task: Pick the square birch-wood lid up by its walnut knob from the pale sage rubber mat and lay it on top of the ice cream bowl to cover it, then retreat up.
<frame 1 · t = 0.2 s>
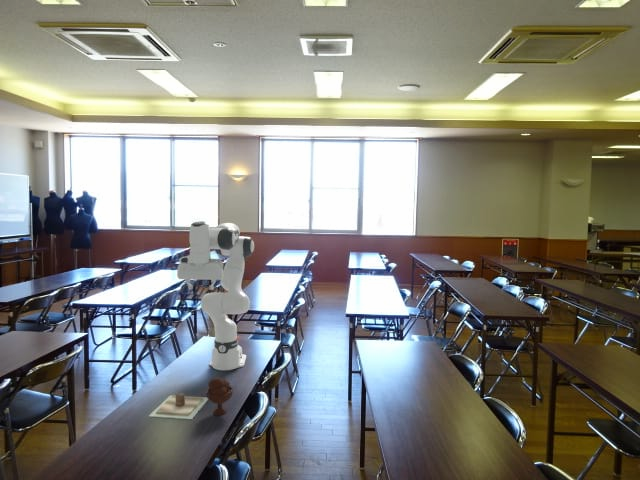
hand: (201, 289, 186), 47 cm above the table, fingers open, 8 cm apart
lid mat: (180, 407, 175), on the table
lid: (180, 406, 175), resting on lid mat
ice cream bowl: (220, 412, 171), on the table
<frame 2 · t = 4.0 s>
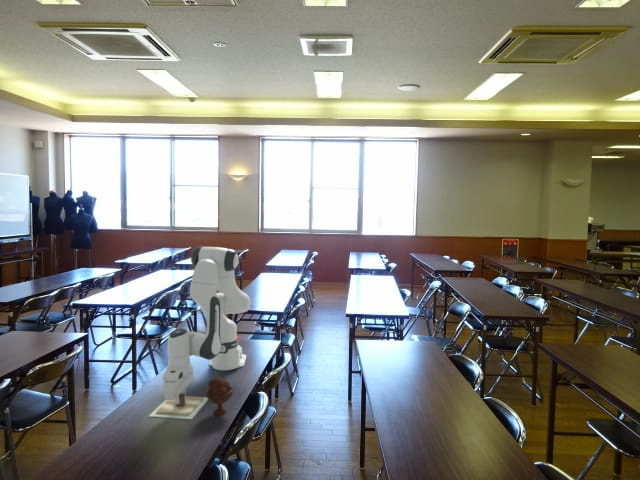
hand: (180, 400, 175), 3 cm above the table, fingers closed on lid, 4 cm apart
lid: (180, 406, 175), resting on lid mat, touching gripper
everything else where it was.
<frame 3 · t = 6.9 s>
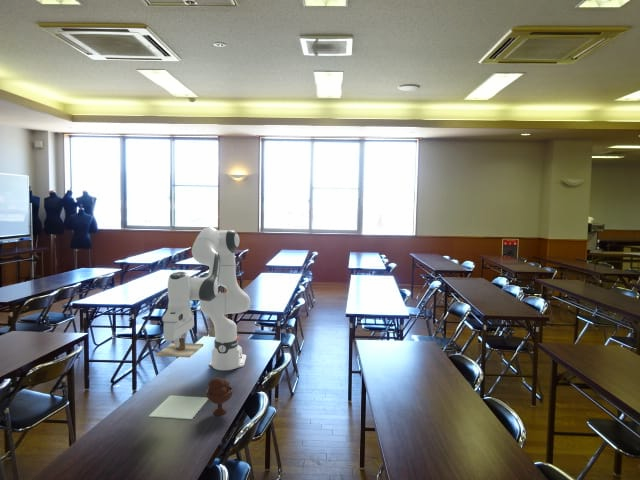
hand: (180, 344, 173), 27 cm above the table, fingers closed on lid, 4 cm apart
lid: (180, 350, 173), point 25 cm above the table, touching gripper
everything else where it was.
when the fingers open (19 cm above the table, at t = 9.7 s): lid drops 1 cm, resting on ice cream bowl.
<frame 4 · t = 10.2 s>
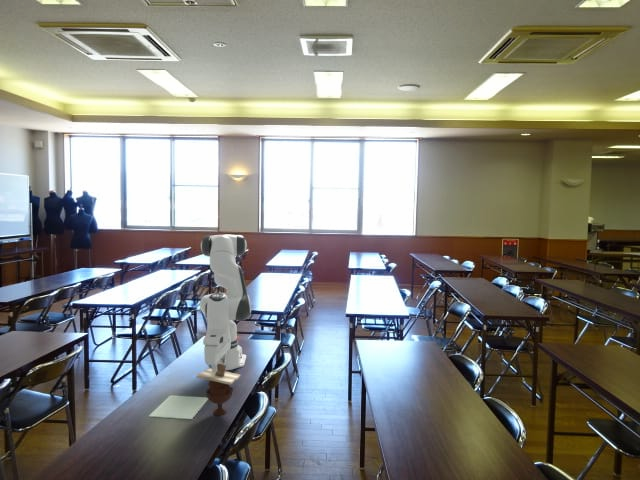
hand: (219, 367, 170), 19 cm above the table, fingers open, 8 cm apart
lid: (219, 376, 170), point 15 cm above the table, tilted 14°, touching ice cream bowl
ice cream bowl: (220, 412, 171), on the table, touching lid
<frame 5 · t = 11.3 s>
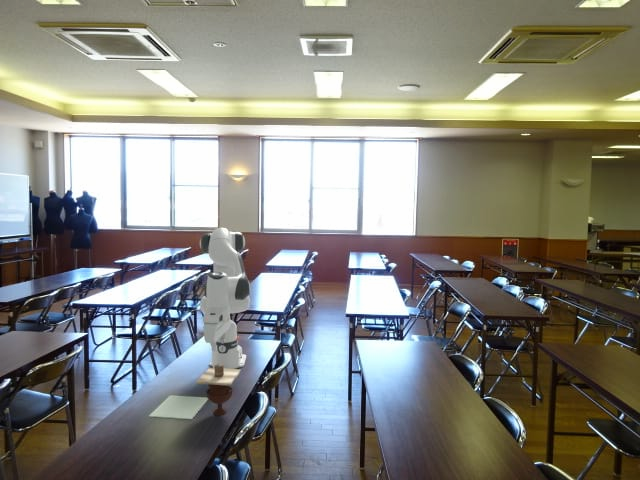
hand: (218, 346, 169), 28 cm above the table, fingers open, 8 cm apart
lid: (219, 377, 170), point 15 cm above the table, touching ice cream bowl
everything else where it was.
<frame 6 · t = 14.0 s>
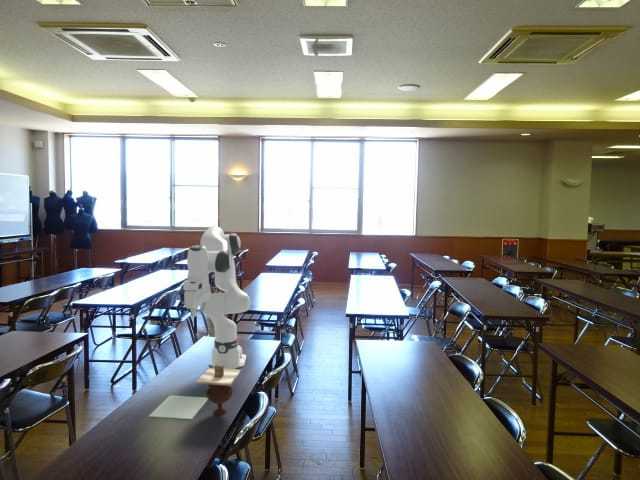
hand: (199, 313, 183), 37 cm above the table, fingers open, 8 cm apart
nothing on the table moved.
at the end: lid 0.2 cm from the ice cream bowl (horizontally); lid point 15.0 cm above the table; ice cream bowl tilted 0° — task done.
